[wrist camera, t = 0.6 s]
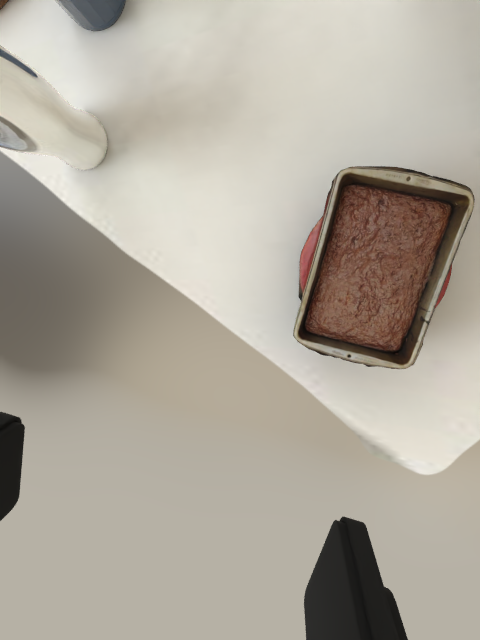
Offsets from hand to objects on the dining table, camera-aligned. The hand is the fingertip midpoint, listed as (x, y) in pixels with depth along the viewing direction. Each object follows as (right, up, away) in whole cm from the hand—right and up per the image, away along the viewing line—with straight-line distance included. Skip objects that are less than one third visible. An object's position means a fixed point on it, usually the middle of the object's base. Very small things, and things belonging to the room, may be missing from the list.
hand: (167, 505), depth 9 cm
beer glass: (-16, +25, +28) cm, 41 cm away
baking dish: (+16, +11, +27) cm, 33 cm away
